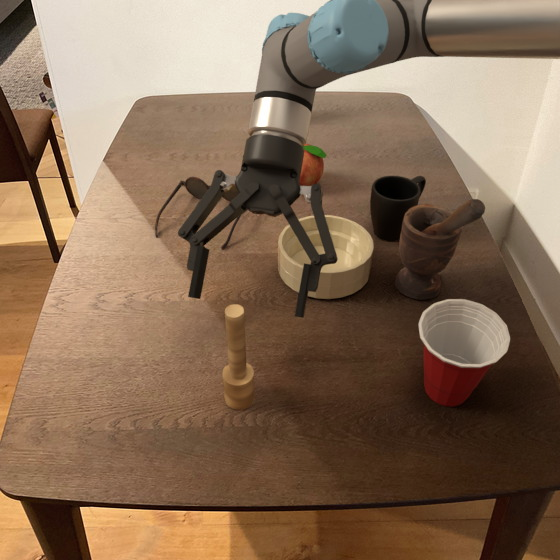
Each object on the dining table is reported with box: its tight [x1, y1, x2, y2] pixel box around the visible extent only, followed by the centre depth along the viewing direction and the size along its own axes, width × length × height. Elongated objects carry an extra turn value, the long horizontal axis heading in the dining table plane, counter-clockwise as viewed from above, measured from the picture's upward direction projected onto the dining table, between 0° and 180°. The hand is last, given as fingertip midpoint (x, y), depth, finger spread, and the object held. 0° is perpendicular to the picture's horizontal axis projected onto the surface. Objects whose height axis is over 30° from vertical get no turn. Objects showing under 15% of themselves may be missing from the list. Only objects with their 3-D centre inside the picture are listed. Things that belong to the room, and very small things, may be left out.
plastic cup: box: [417, 298, 511, 408], centre depth 74 cm, size 11×11×12 cm
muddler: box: [222, 303, 256, 410], centre depth 71 cm, size 4×4×16 cm
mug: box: [369, 175, 427, 243], centre depth 103 cm, size 8×12×10 cm
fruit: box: [300, 143, 327, 186], centre depth 113 cm, size 9×10×10 cm
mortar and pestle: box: [394, 198, 486, 301], centre depth 86 cm, size 12×9×20 cm
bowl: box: [277, 214, 375, 300], centre depth 95 cm, size 15×15×6 cm
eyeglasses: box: [154, 176, 242, 250], centre depth 105 cm, size 15×15×5 cm
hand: (245, 307), depth 72 cm, fingers open, 13 cm apart
